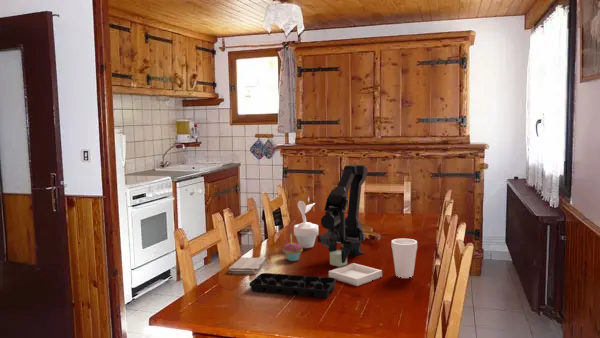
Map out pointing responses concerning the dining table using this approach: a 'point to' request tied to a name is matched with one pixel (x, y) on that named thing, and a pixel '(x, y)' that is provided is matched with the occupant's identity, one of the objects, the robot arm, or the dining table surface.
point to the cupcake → (292, 250)
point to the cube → (336, 258)
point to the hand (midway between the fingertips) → (338, 261)
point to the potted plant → (305, 227)
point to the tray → (355, 274)
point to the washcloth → (247, 266)
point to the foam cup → (404, 256)
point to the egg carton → (293, 285)
